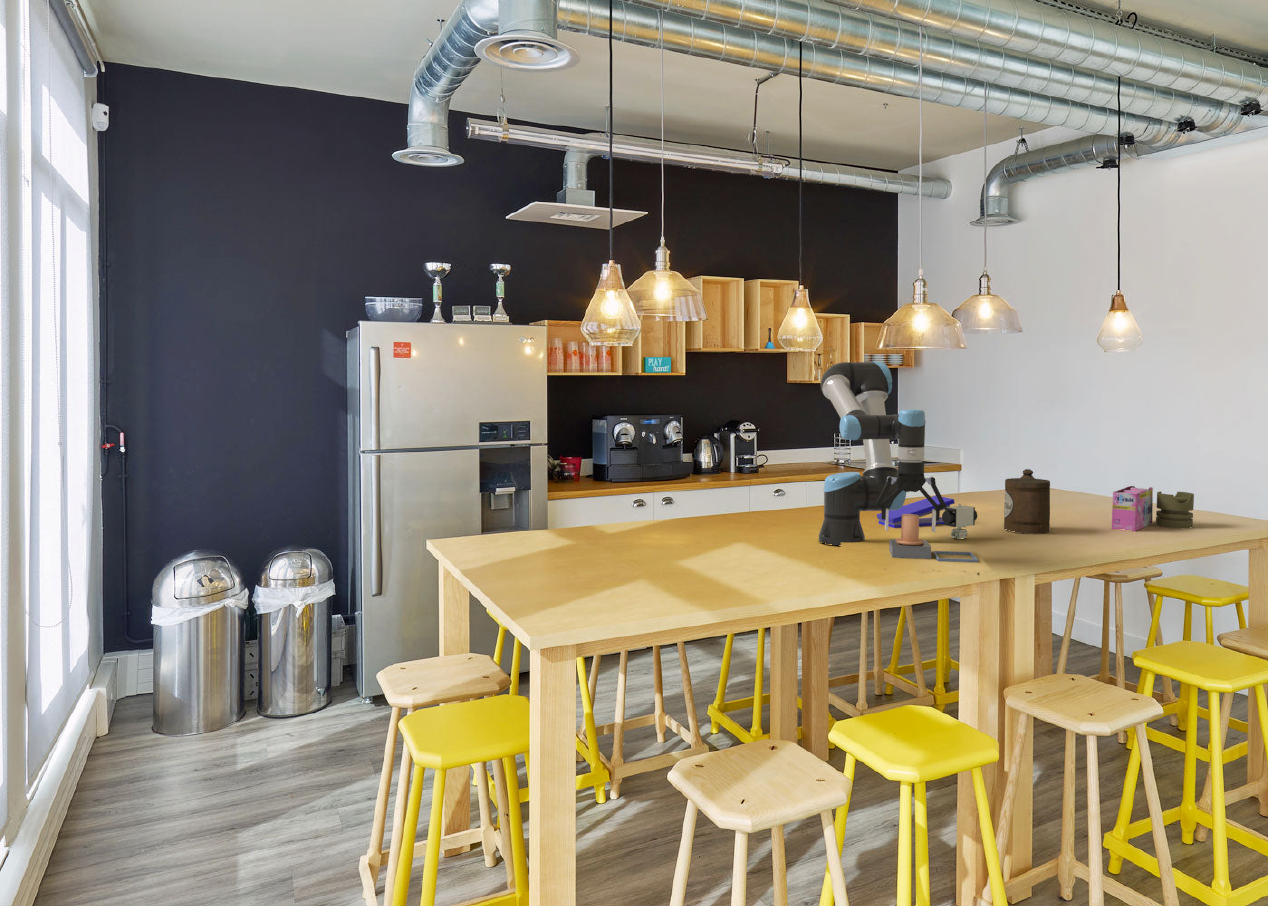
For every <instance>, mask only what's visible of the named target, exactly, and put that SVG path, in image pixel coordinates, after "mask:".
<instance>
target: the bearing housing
mask: <svg viewBox="0 0 1268 906" xmlns="http://www.w3.org/2000/svg"><path fill="white" fill-rule="evenodd" d="M896 539H897V538H896ZM896 539H894V538H889V541H888V542H889V546H888V548H889V554H890V556H891V558H892V559H893V558H894V559H895V558H896V559H916V560H917V559H921V560H922V559H924V560H931V559H932V546H931V544H930V543H929V542H928V540H927V539H923V540H924V544H922V545H901V544H898V543H896Z"/></svg>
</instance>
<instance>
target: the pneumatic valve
mask: <svg viewBox="0 0 1268 906" xmlns="http://www.w3.org/2000/svg"><path fill="white" fill-rule="evenodd" d="M941 517H942V520H943V522H944V523H945V524H943V525H944V526H946V527H951V528H952V529H951V532H950V536H951V539H953V538H957V539H956V540H958V539H961V538H966V539H967V538H968V537H967V536H968V530H967V528H966V527H971V526H975V525H976V524H975V522H976V521H977V519H978V512H977V511H976V507H975V506H968V505H962V503H958V505H956V506H950V507H946V508H945V509H944V510H943V512H942V515H941ZM964 528H965V529H964Z"/></svg>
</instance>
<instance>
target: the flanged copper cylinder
mask: <svg viewBox="0 0 1268 906" xmlns="http://www.w3.org/2000/svg"><path fill="white" fill-rule="evenodd" d="M919 518H920V517H919V515H916V514H902V522H901V531H900V532H901V535H900V537H897V538H896V543H898V544H901V545H922V544H924V540H925V539H922V538H919V535H920V532H919V531H920V529H919V528H920V526H919Z"/></svg>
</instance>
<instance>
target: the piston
mask: <svg viewBox="0 0 1268 906" xmlns="http://www.w3.org/2000/svg"><path fill="white" fill-rule="evenodd" d="M1194 503H1195V493H1192V492H1187V491H1176V494H1175V495H1174V494H1170V493H1169V494H1167V493H1162V491H1157V493H1156V509H1159V510H1156V511H1155V512H1156V513H1155V514H1156V516H1155V526H1157V527H1162V528H1168V529H1169V528H1170V529H1181V528H1185V529H1191V528H1190V527H1192V526H1193V525H1194V513H1193V512H1191V511H1194V506H1195V505H1194ZM1192 528H1193V527H1192Z"/></svg>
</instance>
